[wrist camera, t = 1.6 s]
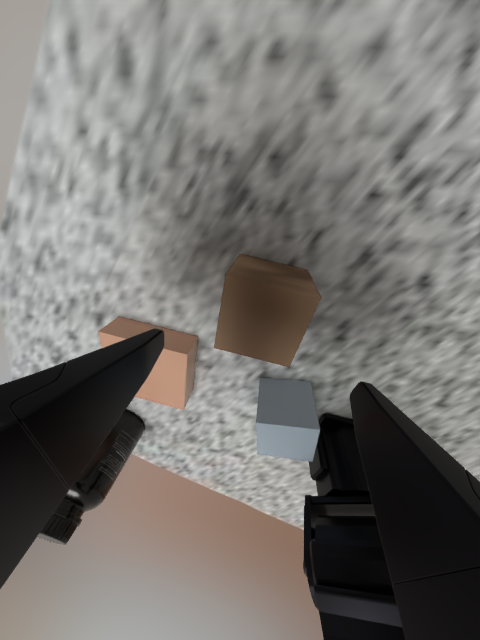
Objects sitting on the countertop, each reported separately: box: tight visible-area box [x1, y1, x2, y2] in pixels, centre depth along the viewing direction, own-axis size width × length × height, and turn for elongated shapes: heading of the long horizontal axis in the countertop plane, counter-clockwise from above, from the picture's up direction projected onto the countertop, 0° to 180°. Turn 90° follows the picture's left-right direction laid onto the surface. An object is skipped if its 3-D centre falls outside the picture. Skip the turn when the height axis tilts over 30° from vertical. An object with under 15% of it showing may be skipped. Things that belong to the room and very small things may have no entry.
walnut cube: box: [214, 254, 321, 367], centre depth 13 cm, size 5×5×5 cm
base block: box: [98, 317, 198, 410], centre depth 20 cm, size 8×8×3 cm
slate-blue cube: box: [256, 378, 320, 462], centre depth 19 cm, size 5×5×5 cm
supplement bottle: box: [37, 410, 144, 545], centre depth 24 cm, size 7×7×12 cm
